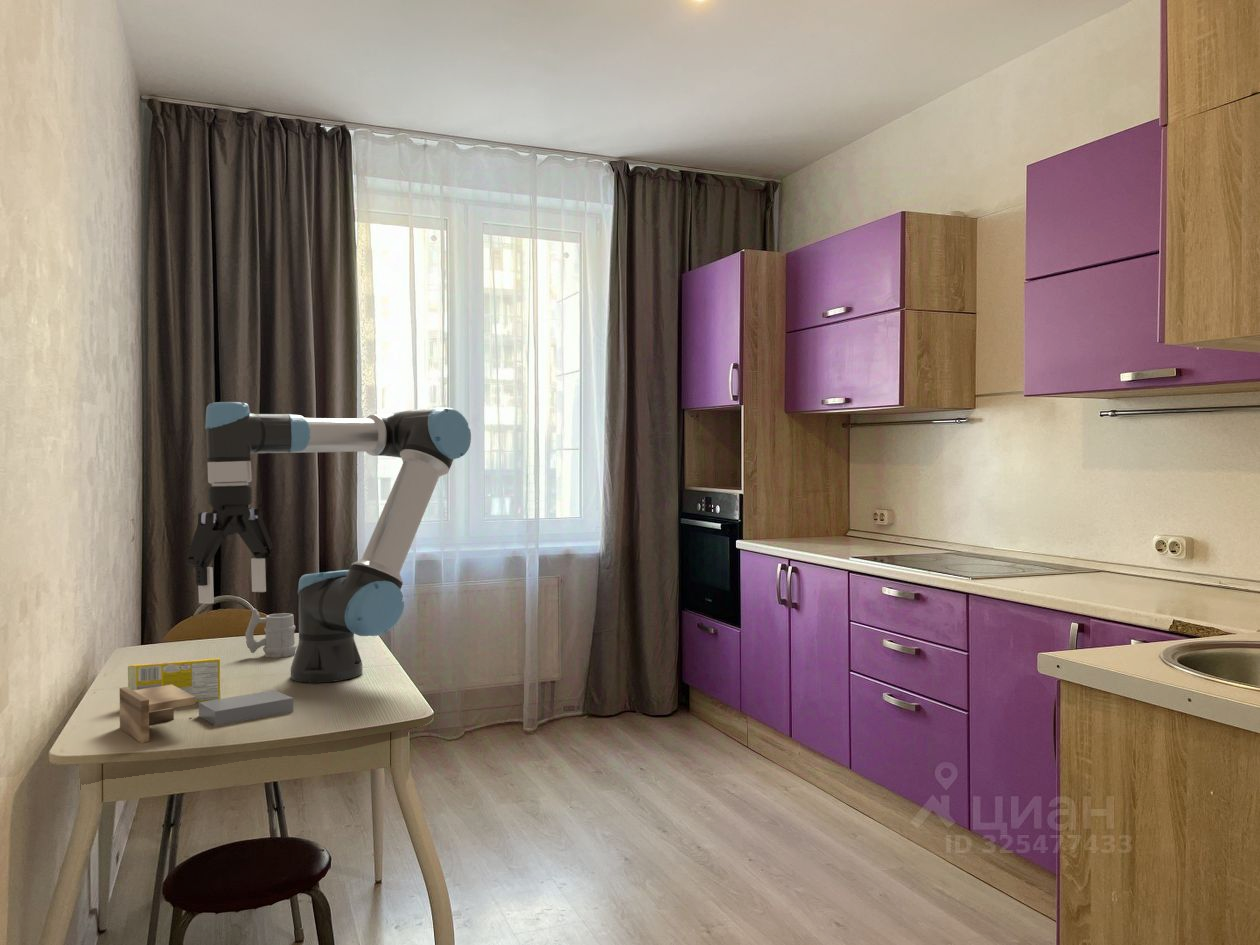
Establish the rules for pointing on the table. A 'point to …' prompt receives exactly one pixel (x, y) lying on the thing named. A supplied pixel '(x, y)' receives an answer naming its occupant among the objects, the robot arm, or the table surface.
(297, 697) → the table surface
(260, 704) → the gray block
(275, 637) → the mug
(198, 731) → the table surface
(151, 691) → the shelf
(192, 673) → the candy box
